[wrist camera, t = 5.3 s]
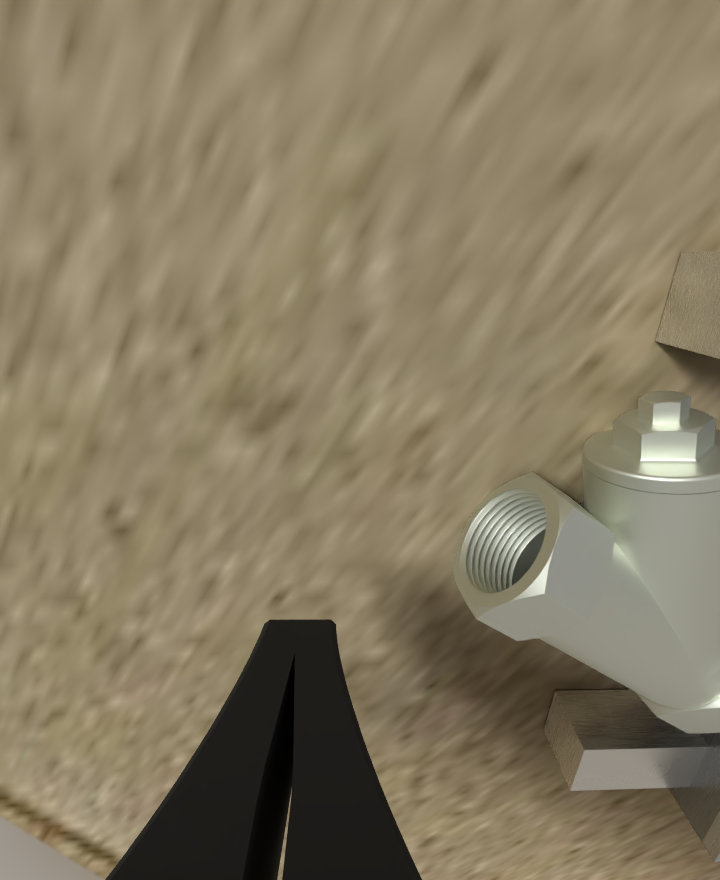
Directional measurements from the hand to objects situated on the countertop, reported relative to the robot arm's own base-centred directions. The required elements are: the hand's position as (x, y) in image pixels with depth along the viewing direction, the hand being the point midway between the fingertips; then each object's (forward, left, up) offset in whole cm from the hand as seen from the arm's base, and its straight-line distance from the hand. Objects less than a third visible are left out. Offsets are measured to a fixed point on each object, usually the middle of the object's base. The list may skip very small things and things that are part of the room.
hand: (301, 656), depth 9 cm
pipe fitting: (-9, -1, -4) cm, 10 cm away
